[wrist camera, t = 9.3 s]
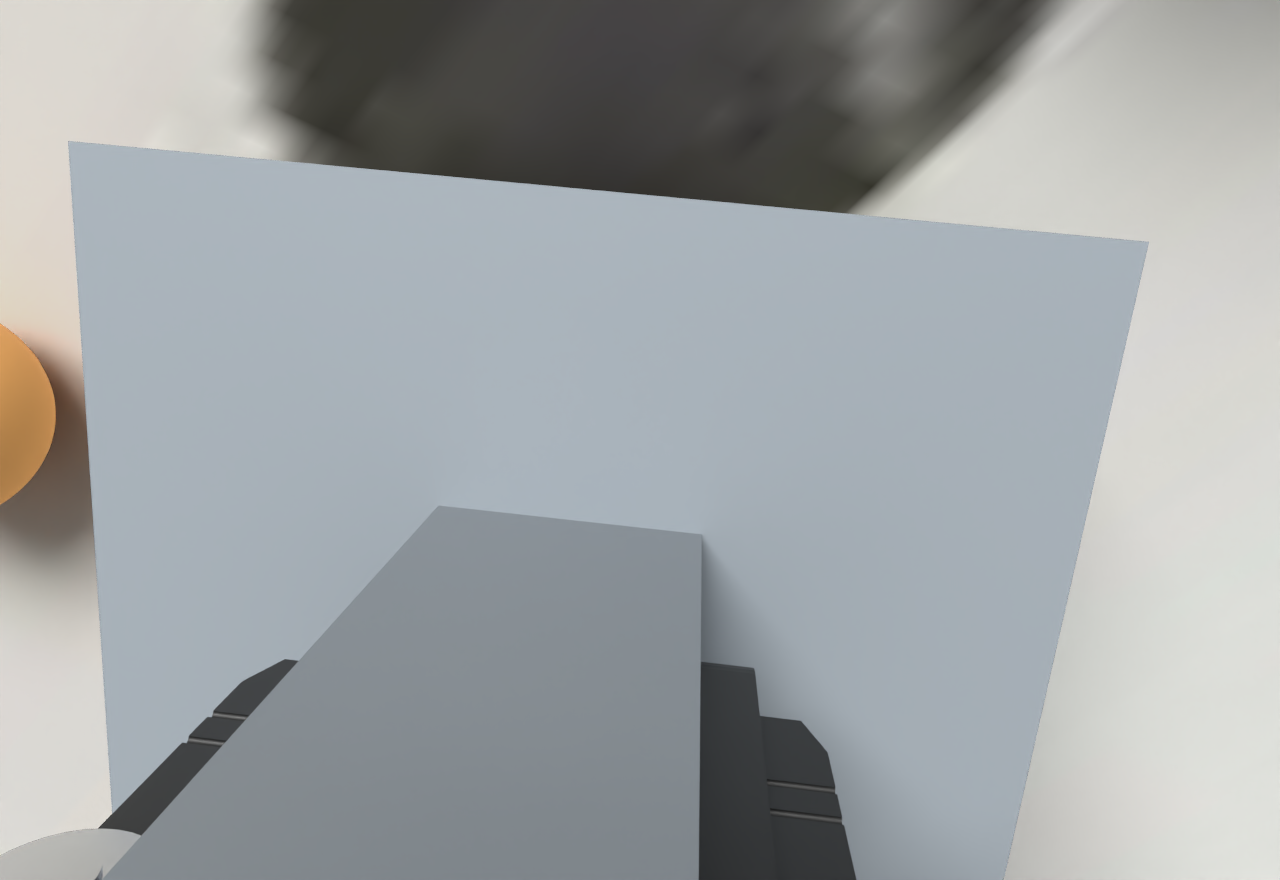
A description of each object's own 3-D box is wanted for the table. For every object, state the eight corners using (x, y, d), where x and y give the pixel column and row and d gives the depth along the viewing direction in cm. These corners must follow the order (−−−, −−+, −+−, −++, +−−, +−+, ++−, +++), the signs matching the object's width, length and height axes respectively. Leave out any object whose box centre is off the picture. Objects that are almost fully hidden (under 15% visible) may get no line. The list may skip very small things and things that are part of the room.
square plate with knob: (933, 226, 18) (1942, 300, 3) (848, 735, 20) (1185, 1973, 6) (367, 173, 18) (-921, 33, 4) (361, 676, 21) (-388, 1694, 7)
